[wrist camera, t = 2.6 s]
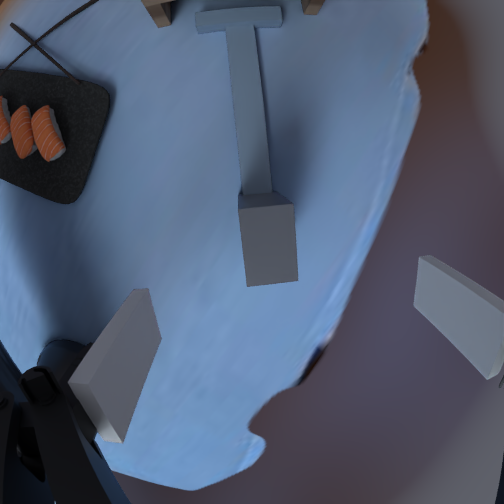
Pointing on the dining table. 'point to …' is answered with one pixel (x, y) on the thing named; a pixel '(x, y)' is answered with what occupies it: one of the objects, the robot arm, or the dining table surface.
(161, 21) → the cabinet
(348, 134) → the dining table surface
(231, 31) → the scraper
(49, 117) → the sushi plate
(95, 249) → the dining table surface
